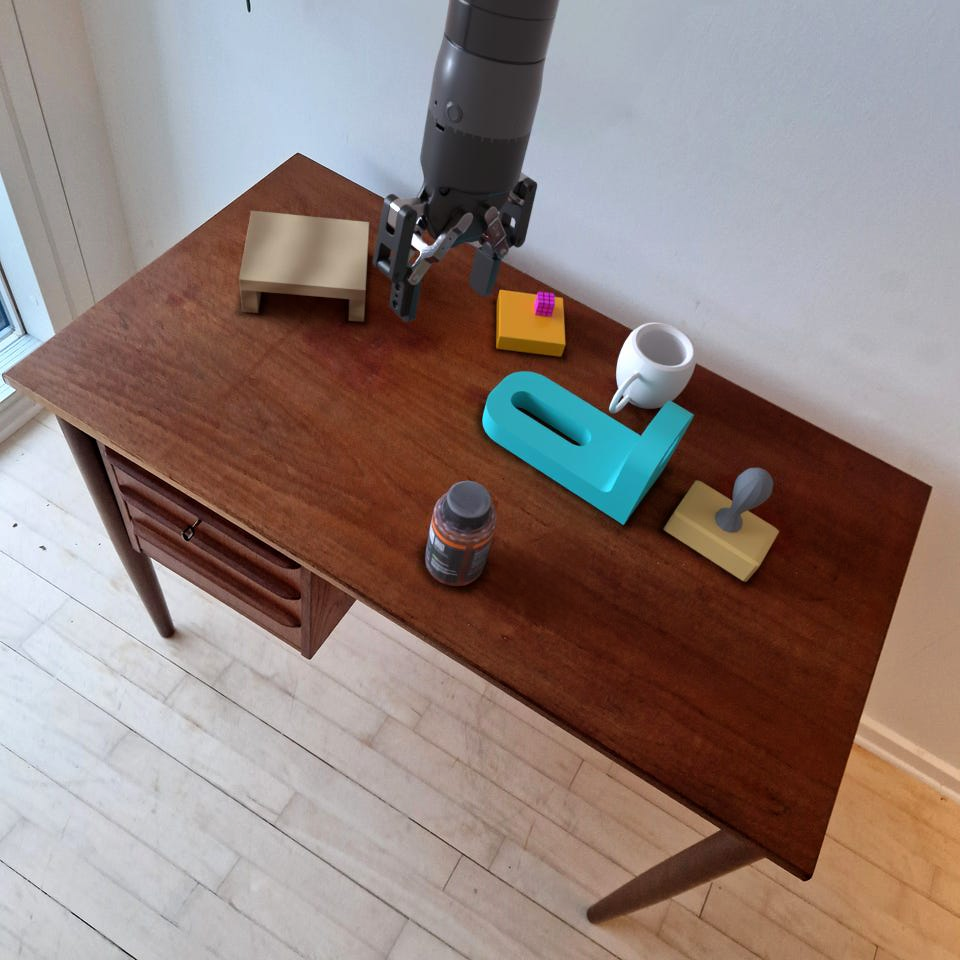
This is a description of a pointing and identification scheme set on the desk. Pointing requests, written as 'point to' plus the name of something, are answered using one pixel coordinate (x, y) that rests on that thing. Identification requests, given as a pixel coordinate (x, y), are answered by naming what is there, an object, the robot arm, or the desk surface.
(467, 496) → the supplement bottle
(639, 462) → the bracket
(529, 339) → the orange block
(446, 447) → the desk surface
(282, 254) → the stand
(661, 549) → the desk surface
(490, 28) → the robot arm
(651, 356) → the mug
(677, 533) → the rubber stamp
